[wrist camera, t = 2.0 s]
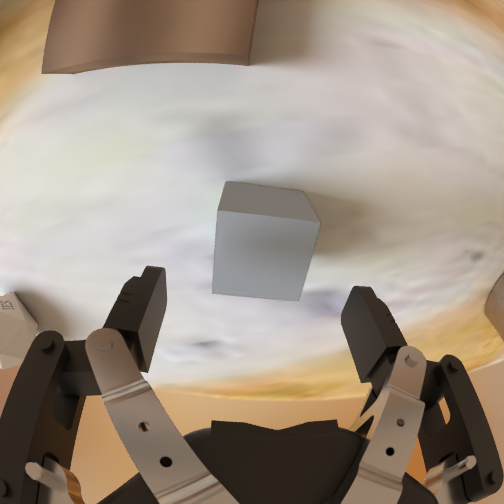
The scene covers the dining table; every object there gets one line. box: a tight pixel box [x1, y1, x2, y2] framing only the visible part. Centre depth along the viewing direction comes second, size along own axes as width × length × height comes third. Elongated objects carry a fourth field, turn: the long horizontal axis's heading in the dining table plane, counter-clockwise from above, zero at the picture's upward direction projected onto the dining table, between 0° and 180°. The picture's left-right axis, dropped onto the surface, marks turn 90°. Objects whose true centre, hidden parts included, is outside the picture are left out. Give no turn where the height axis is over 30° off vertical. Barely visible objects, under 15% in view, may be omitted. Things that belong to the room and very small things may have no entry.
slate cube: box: [212, 181, 321, 301], centre depth 16 cm, size 5×5×5 cm
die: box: [0, 292, 38, 370], centre depth 20 cm, size 8×9×10 cm
